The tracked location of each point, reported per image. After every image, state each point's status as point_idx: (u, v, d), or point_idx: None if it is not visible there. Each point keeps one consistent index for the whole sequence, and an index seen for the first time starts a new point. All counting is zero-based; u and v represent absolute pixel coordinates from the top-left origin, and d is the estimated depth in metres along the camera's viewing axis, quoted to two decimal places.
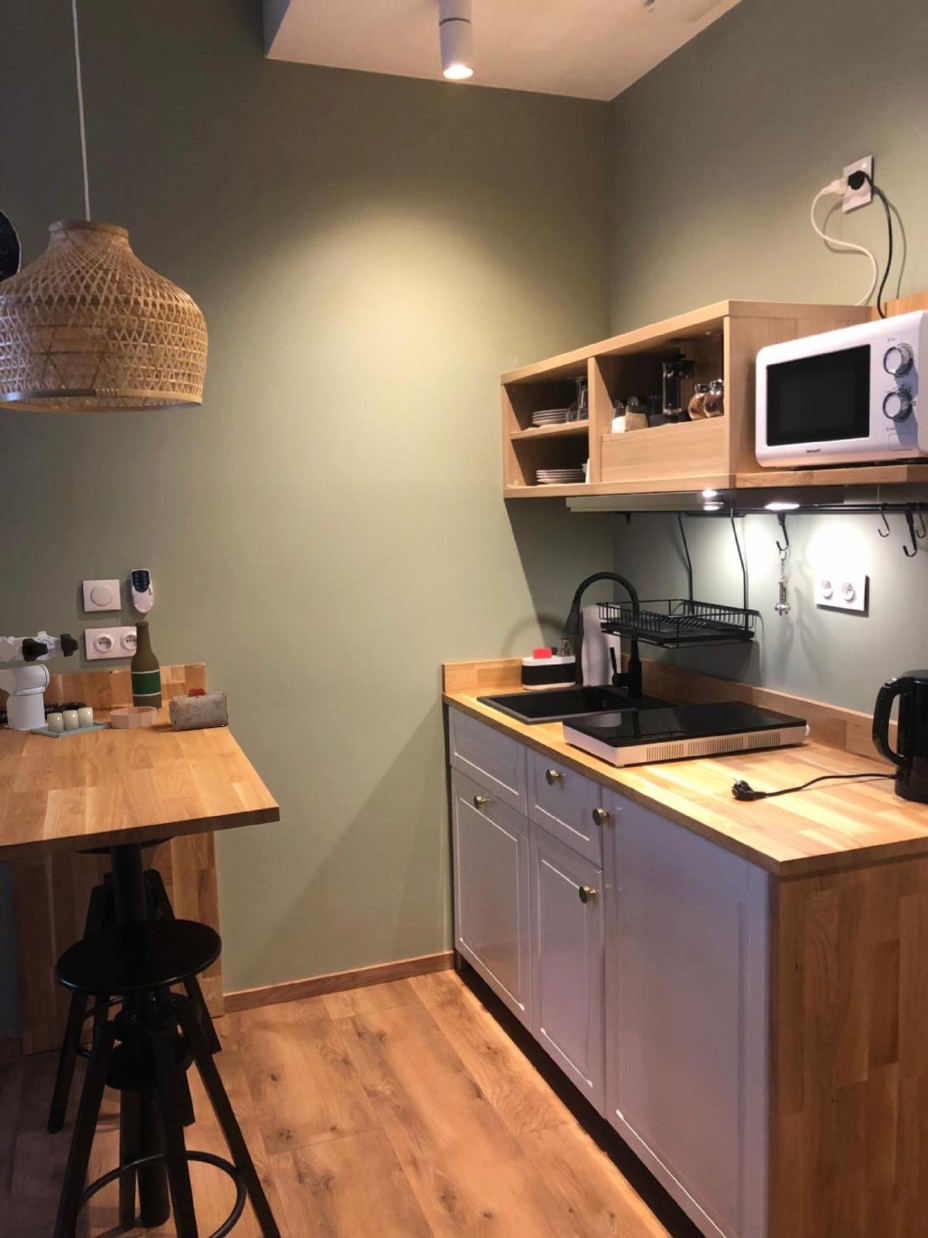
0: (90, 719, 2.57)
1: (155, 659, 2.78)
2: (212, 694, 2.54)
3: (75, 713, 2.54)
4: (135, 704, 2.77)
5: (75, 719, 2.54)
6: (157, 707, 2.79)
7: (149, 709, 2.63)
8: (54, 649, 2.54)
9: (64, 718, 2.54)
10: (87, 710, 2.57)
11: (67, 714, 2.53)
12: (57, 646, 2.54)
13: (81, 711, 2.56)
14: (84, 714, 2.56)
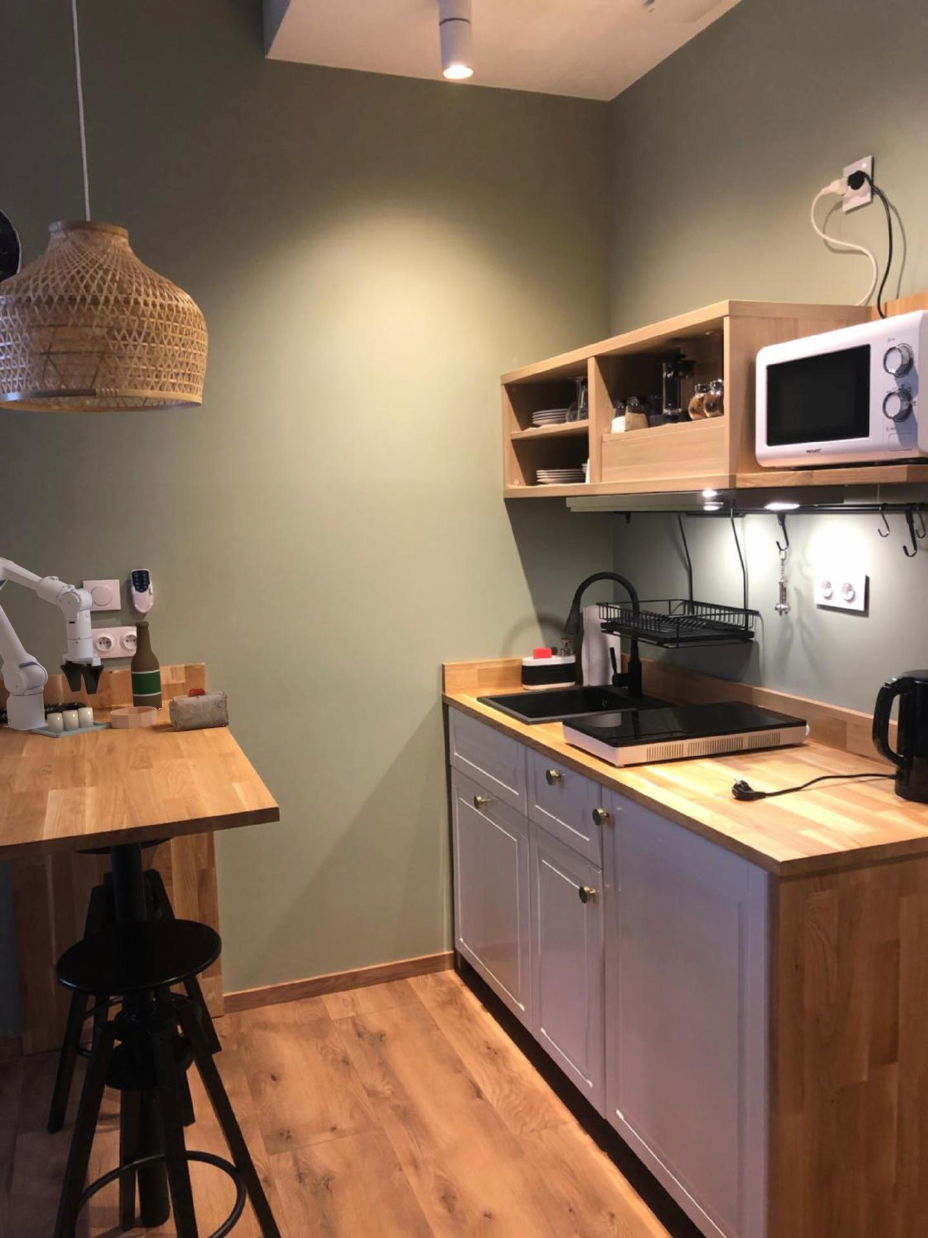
0: (90, 719, 2.57)
1: (155, 659, 2.78)
2: (212, 694, 2.54)
3: (75, 713, 2.54)
4: (135, 704, 2.77)
5: (75, 719, 2.54)
6: (157, 707, 2.79)
7: (149, 709, 2.63)
8: (74, 660, 2.57)
9: (64, 718, 2.54)
10: (87, 710, 2.57)
11: (67, 714, 2.53)
12: (75, 662, 2.58)
13: (81, 711, 2.56)
14: (84, 714, 2.56)
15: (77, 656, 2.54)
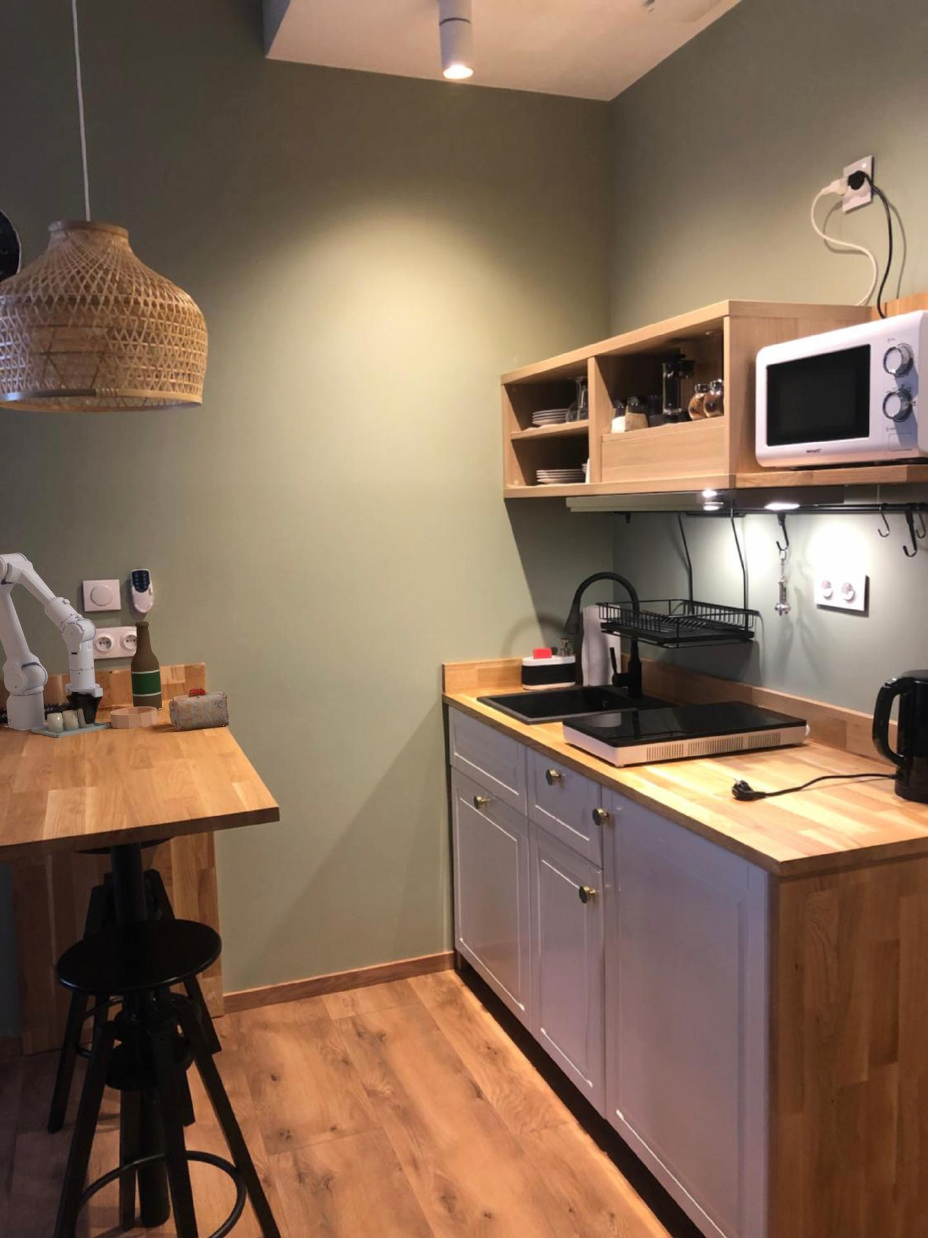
0: None
1: (155, 659, 2.78)
2: (212, 694, 2.54)
3: (75, 713, 2.54)
4: (135, 704, 2.77)
5: (75, 719, 2.54)
6: (157, 707, 2.79)
7: (149, 709, 2.63)
8: None
9: (64, 718, 2.54)
10: None
11: (67, 714, 2.53)
12: None
13: (81, 711, 2.56)
14: None
15: (79, 687, 2.54)
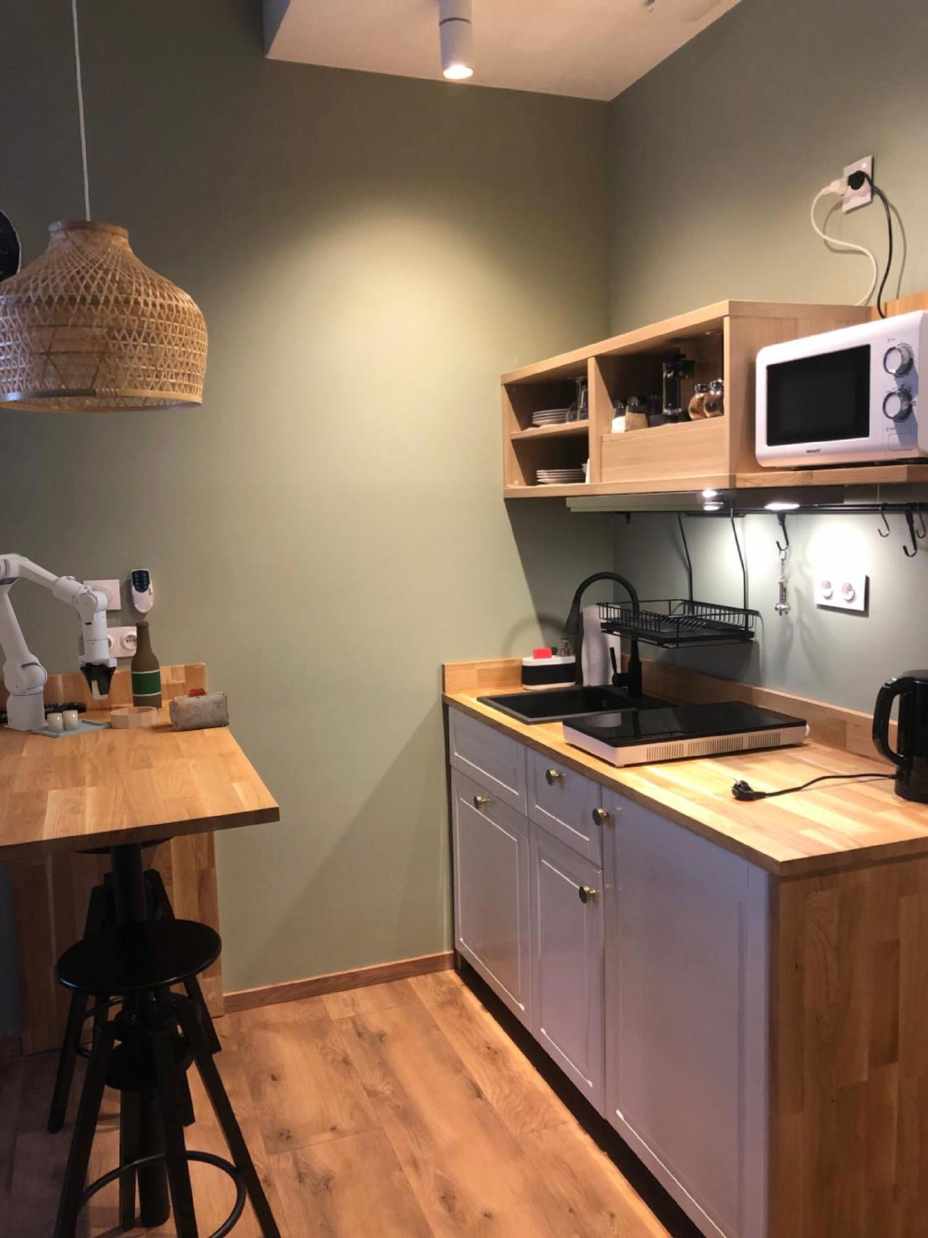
0: None
1: (155, 659, 2.78)
2: (213, 694, 2.54)
3: (75, 713, 2.54)
4: (135, 704, 2.77)
5: (75, 719, 2.54)
6: (157, 707, 2.79)
7: (149, 709, 2.63)
8: (90, 661, 2.57)
9: (64, 718, 2.54)
10: None
11: (67, 714, 2.53)
12: None
13: (95, 683, 2.55)
14: None
15: (93, 657, 2.53)
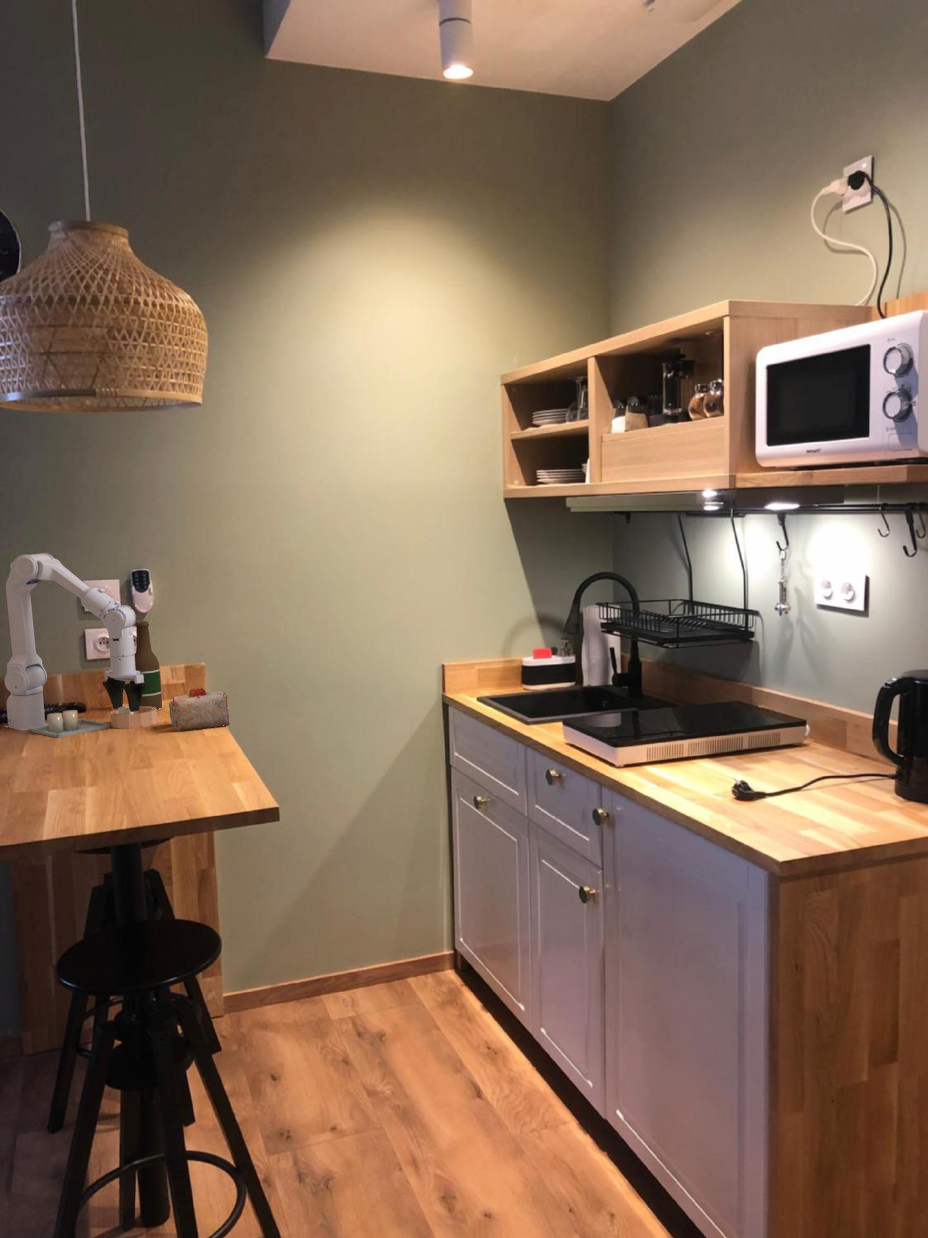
0: None
1: (155, 659, 2.78)
2: (213, 694, 2.54)
3: (75, 713, 2.54)
4: None
5: (75, 719, 2.54)
6: (157, 707, 2.79)
7: (149, 709, 2.63)
8: (116, 677, 2.58)
9: (64, 718, 2.54)
10: (128, 708, 2.56)
11: (67, 714, 2.53)
12: (117, 679, 2.59)
13: (122, 709, 2.56)
14: (124, 712, 2.56)
15: (120, 673, 2.54)
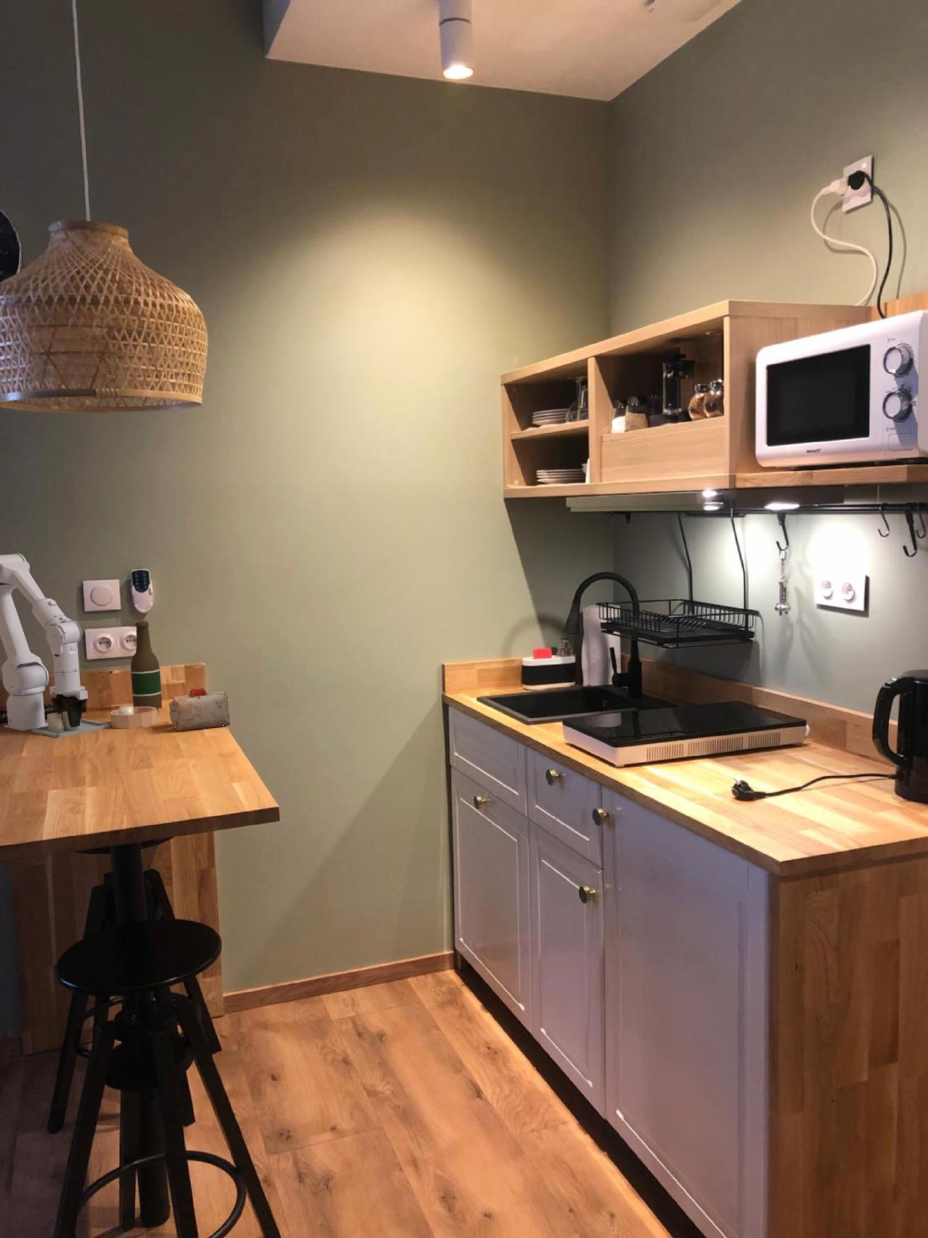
0: None
1: (155, 659, 2.78)
2: (213, 694, 2.53)
3: None
4: (135, 704, 2.77)
5: None
6: (157, 707, 2.79)
7: (149, 709, 2.63)
8: None
9: (64, 718, 2.54)
10: (128, 708, 2.56)
11: (67, 714, 2.53)
12: None
13: (122, 709, 2.56)
14: (125, 712, 2.56)
15: (64, 689, 2.51)
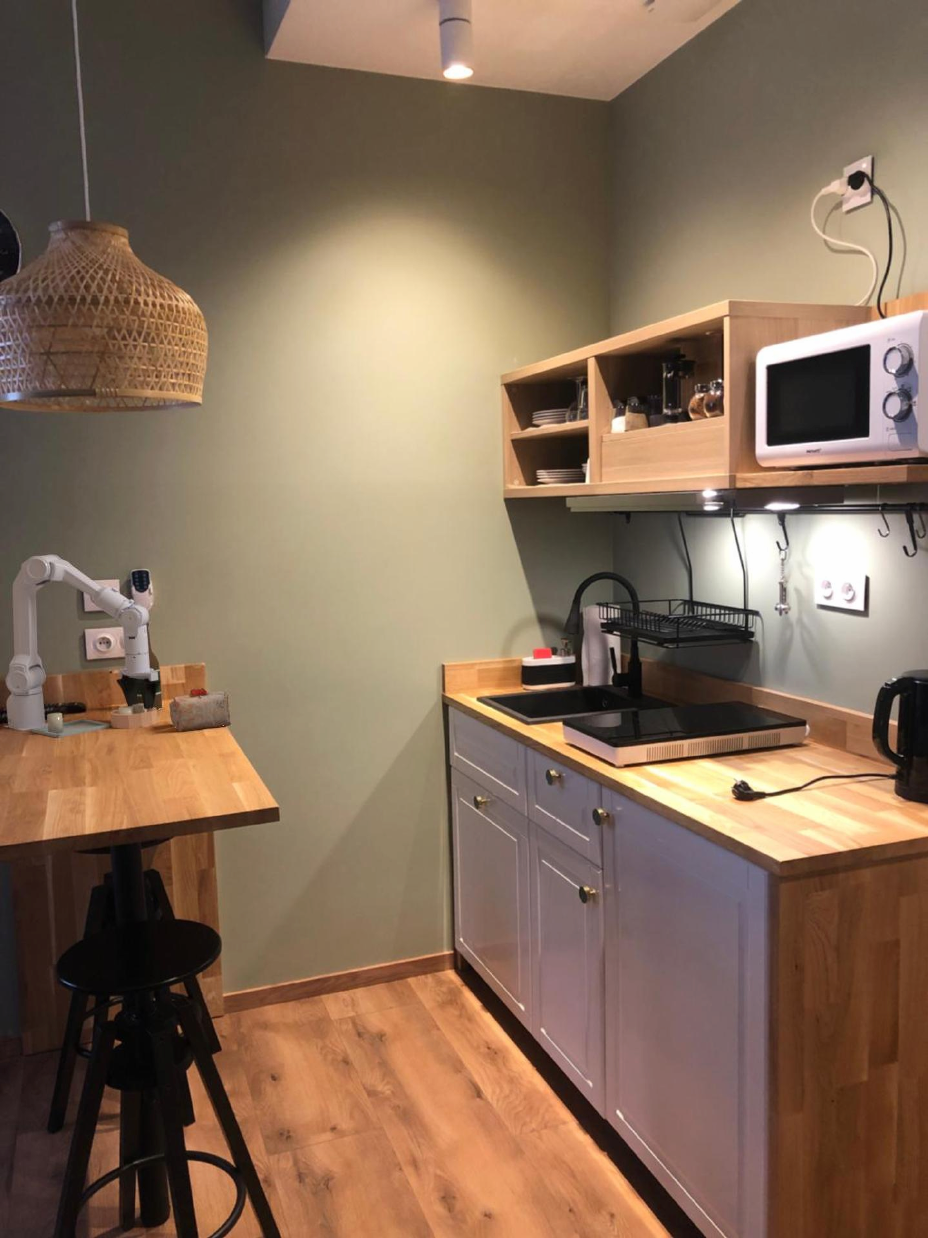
0: None
1: (155, 659, 2.78)
2: (214, 694, 2.53)
3: None
4: None
5: None
6: (157, 707, 2.79)
7: (149, 709, 2.63)
8: None
9: (133, 711, 2.59)
10: (128, 708, 2.56)
11: (136, 707, 2.59)
12: None
13: (122, 709, 2.56)
14: (125, 712, 2.56)
15: (135, 671, 2.57)
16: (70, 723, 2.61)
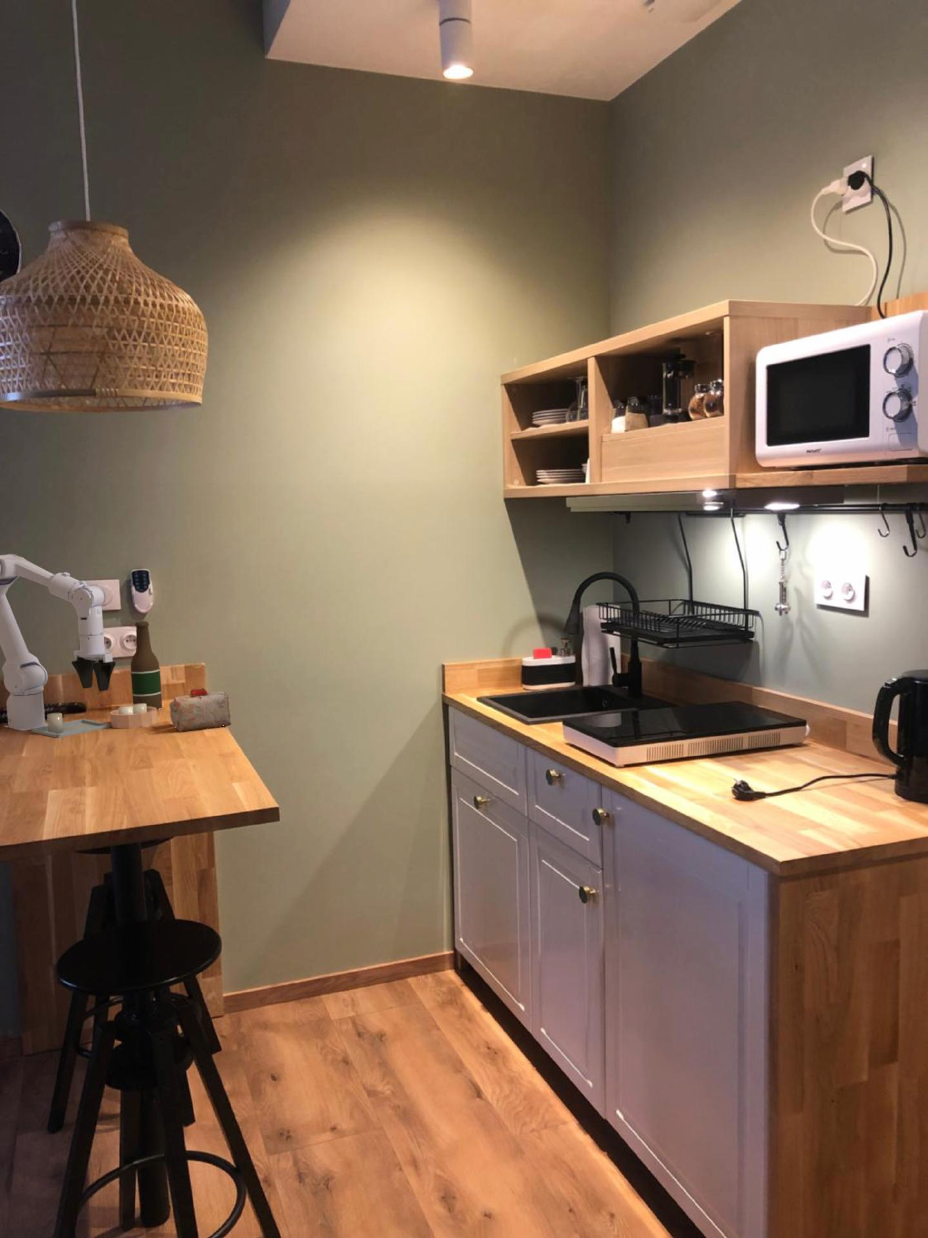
0: None
1: (155, 659, 2.78)
2: (214, 694, 2.53)
3: (144, 706, 2.59)
4: None
5: None
6: (157, 707, 2.79)
7: (149, 709, 2.63)
8: (85, 657, 2.57)
9: (133, 711, 2.59)
10: (128, 708, 2.56)
11: (136, 707, 2.59)
12: (87, 659, 2.57)
13: (122, 709, 2.56)
14: (125, 712, 2.56)
15: (89, 652, 2.53)
16: (70, 723, 2.61)
